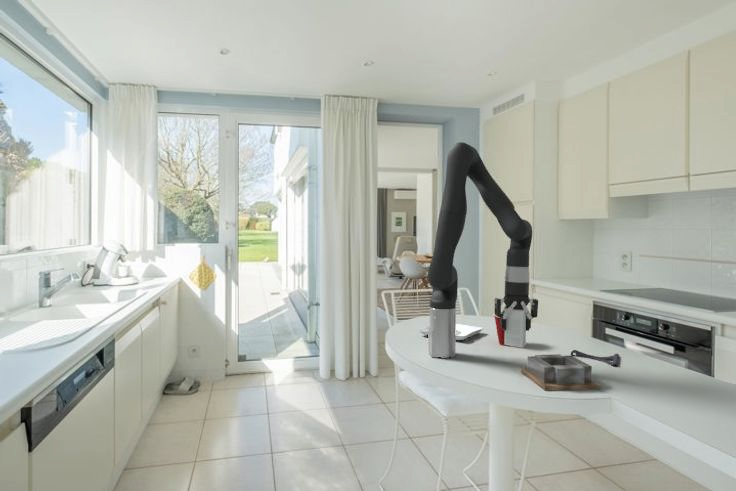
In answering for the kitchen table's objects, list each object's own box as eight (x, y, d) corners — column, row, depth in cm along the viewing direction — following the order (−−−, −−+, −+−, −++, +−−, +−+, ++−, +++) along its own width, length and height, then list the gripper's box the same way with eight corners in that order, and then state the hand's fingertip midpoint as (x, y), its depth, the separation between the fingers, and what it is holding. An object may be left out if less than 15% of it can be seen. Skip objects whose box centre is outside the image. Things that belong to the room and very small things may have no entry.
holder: (544, 390, 121) (545, 370, 121) (520, 372, 137) (521, 354, 137) (600, 389, 122) (600, 368, 122) (569, 371, 138) (570, 353, 138)
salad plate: (439, 328, 202) (439, 321, 202) (484, 334, 190) (484, 326, 190) (417, 337, 185) (417, 329, 185) (464, 344, 173) (464, 336, 172)
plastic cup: (512, 349, 164) (512, 317, 164) (487, 344, 172) (487, 313, 172) (526, 344, 171) (527, 314, 171) (502, 339, 179) (502, 310, 179)
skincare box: (525, 345, 143) (527, 309, 143) (522, 348, 140) (524, 311, 139) (507, 342, 147) (508, 306, 146) (503, 344, 143) (504, 308, 142)
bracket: (573, 352, 162) (573, 345, 162) (619, 358, 154) (619, 350, 154) (568, 362, 150) (568, 354, 150) (618, 369, 142) (618, 361, 142)
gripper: (499, 281, 138) (498, 332, 139) (543, 281, 139) (541, 333, 140) (491, 278, 146) (490, 327, 146) (533, 279, 146) (531, 327, 147)
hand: (515, 329), depth 143 cm, fingers closed on skincare box, 7 cm apart
